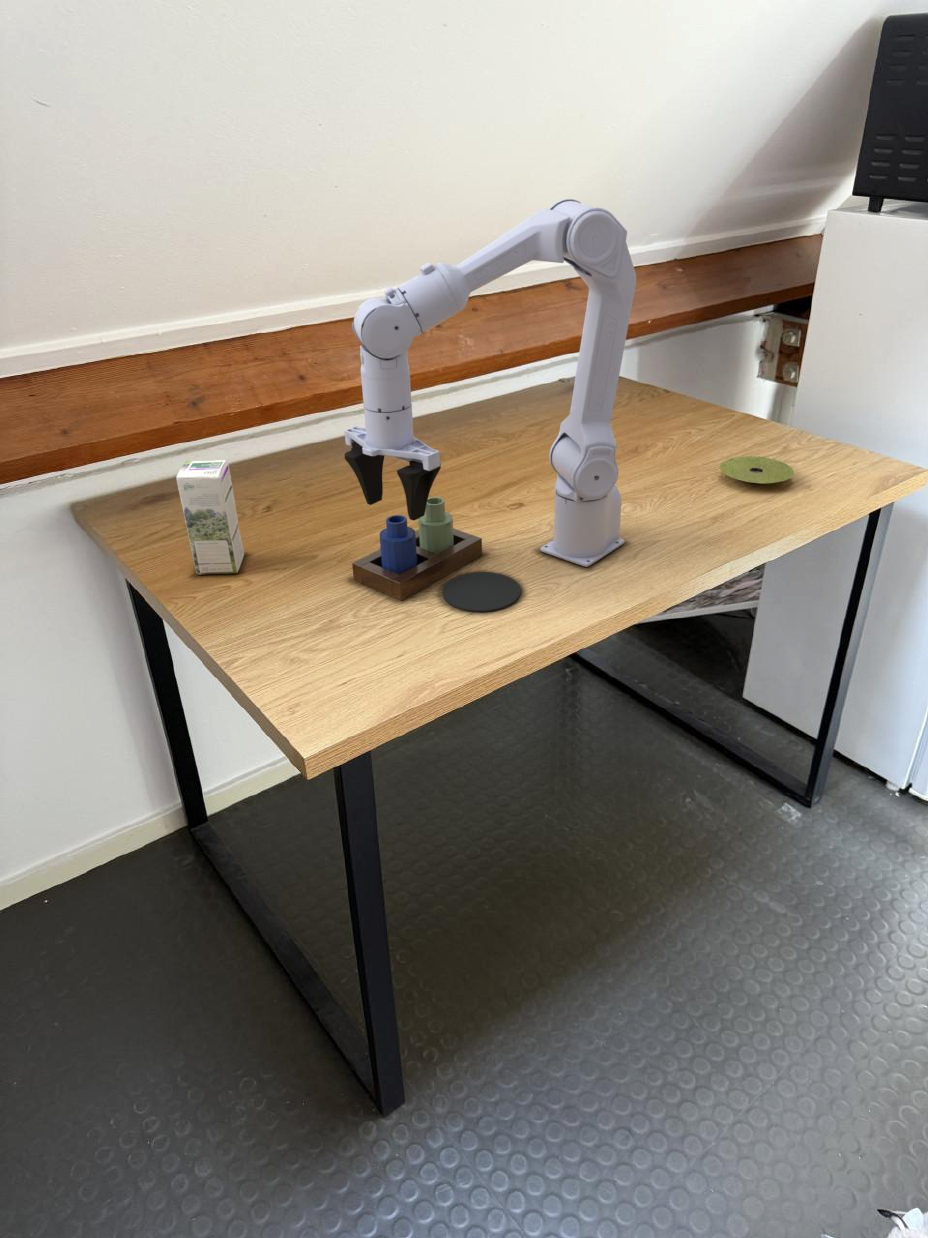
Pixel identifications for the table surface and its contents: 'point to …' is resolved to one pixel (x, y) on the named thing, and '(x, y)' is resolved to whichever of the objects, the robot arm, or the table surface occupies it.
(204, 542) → the syrup box
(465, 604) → the coaster
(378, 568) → the bottle rack
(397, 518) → the blue bottle
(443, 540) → the sage bottle
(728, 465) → the mat
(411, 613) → the table surface
